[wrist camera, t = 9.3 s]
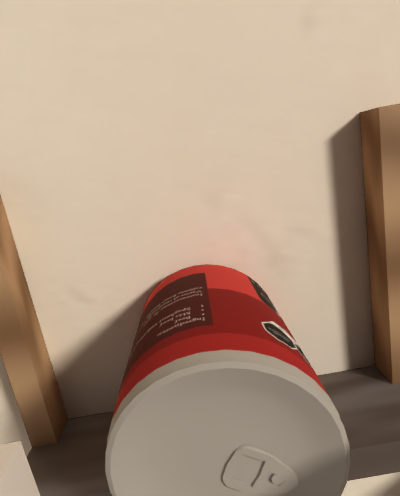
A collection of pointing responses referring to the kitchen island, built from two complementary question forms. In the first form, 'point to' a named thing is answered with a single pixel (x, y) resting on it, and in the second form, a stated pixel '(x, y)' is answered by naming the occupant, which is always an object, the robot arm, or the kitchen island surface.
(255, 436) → the canned food
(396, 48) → the kitchen island surface
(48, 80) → the kitchen island surface
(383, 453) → the guide lane
